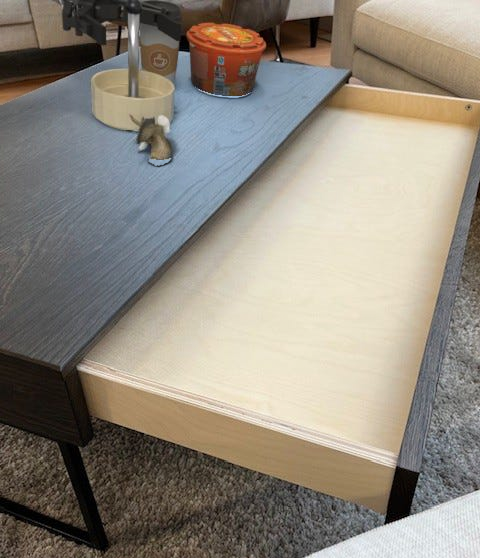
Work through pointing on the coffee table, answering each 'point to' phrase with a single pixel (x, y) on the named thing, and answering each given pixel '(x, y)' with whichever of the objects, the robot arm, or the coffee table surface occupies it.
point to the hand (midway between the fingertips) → (143, 34)
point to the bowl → (130, 98)
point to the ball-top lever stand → (133, 47)
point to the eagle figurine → (154, 136)
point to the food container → (224, 58)
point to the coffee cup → (159, 45)
